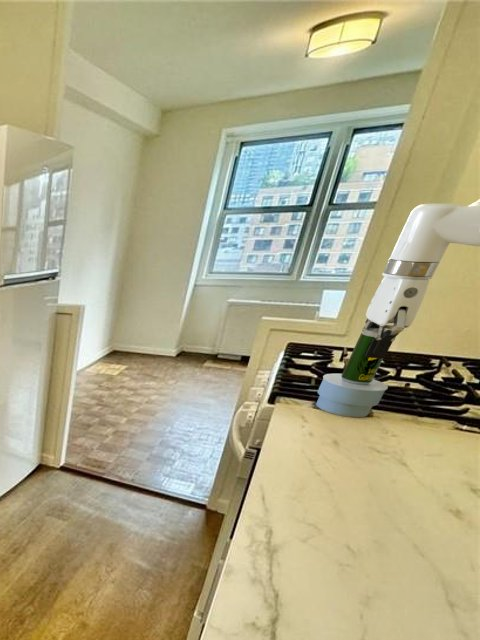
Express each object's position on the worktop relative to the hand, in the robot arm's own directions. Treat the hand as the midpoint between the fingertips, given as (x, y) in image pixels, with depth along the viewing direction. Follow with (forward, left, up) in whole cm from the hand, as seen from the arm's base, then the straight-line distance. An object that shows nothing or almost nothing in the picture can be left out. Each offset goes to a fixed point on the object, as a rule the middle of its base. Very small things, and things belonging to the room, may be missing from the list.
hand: (368, 353), depth 110 cm
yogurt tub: (0, 0, -14) cm, 14 cm away
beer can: (0, 0, -7) cm, 7 cm away
